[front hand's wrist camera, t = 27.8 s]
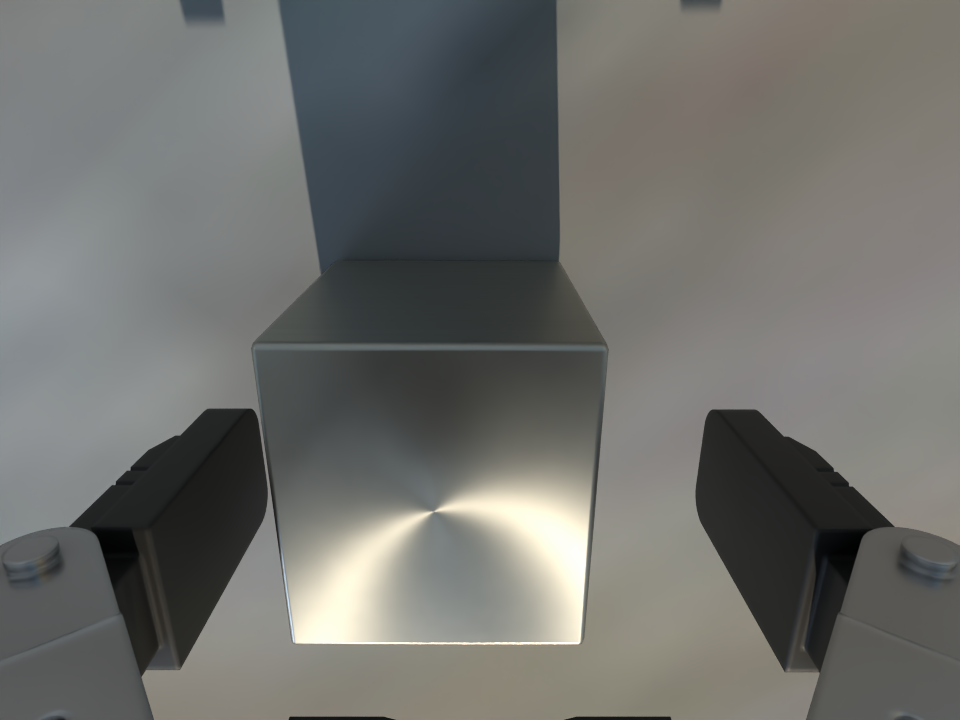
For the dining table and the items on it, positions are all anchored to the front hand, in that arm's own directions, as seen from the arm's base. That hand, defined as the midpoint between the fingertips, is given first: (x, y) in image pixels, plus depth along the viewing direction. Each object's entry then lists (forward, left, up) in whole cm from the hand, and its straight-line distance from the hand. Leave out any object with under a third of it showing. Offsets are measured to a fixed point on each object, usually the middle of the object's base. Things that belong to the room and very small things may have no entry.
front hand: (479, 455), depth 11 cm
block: (-1, 0, -2) cm, 2 cm away
